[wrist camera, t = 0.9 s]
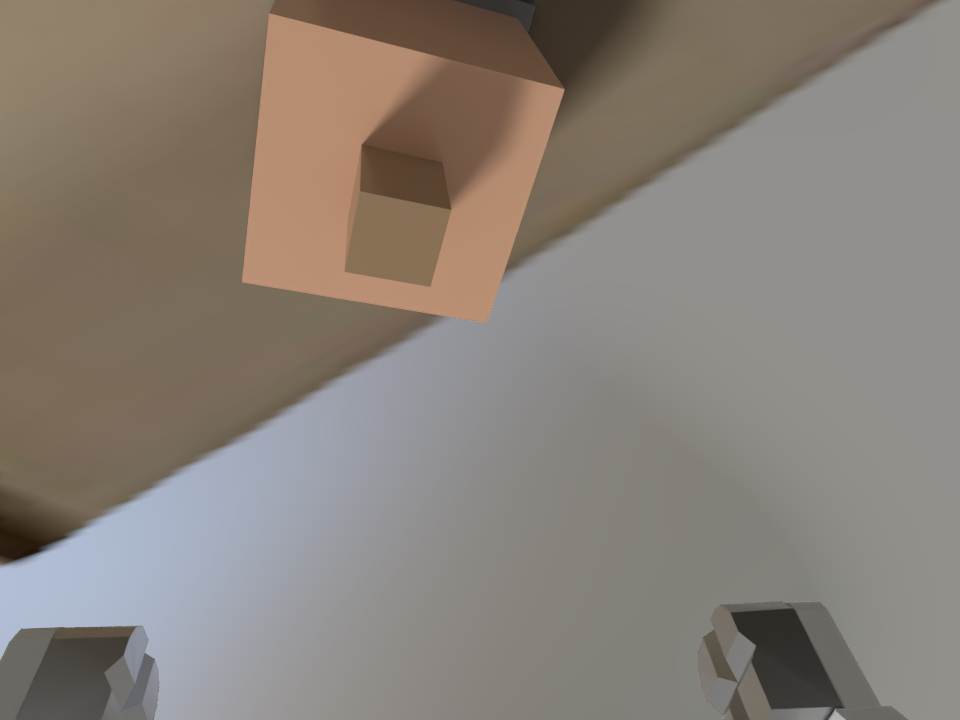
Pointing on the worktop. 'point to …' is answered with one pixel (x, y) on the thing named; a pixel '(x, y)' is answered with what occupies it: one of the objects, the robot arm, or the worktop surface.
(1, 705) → the robot arm
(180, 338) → the worktop surface
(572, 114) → the worktop surface
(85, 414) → the worktop surface
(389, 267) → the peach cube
